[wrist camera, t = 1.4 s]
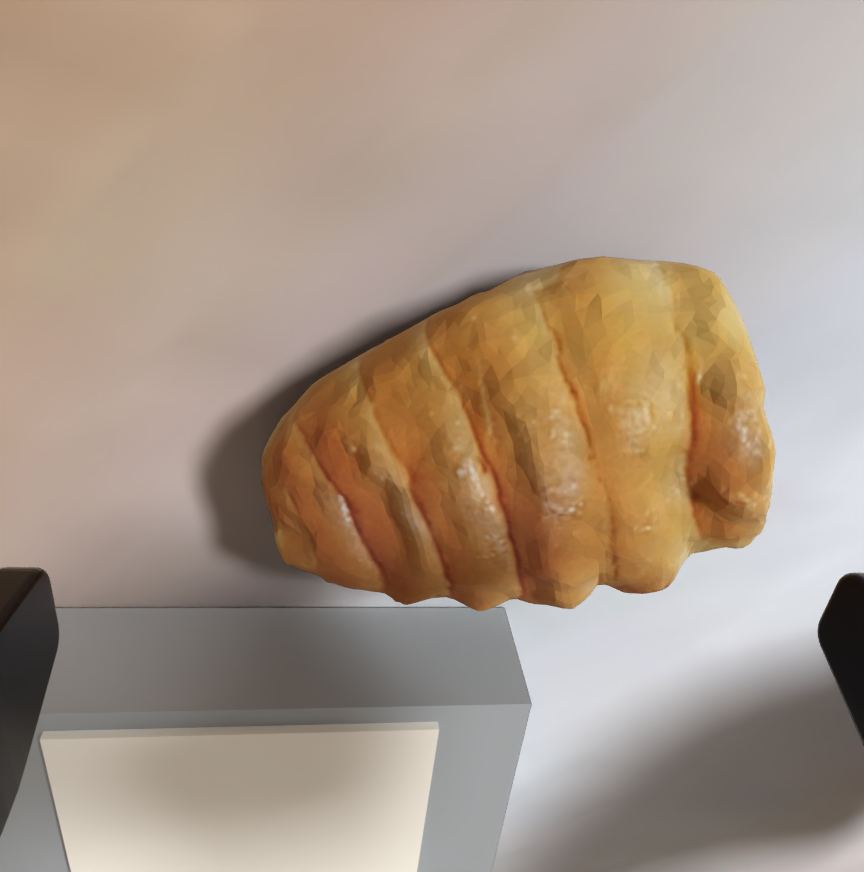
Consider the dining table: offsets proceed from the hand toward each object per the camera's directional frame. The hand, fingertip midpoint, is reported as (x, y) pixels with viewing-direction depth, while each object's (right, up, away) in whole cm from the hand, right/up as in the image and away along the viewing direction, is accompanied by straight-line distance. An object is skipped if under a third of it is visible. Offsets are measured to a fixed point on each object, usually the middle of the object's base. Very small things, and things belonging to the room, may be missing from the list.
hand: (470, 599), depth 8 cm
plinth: (-5, -7, +12) cm, 15 cm away
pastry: (-1, +4, +7) cm, 8 cm away
